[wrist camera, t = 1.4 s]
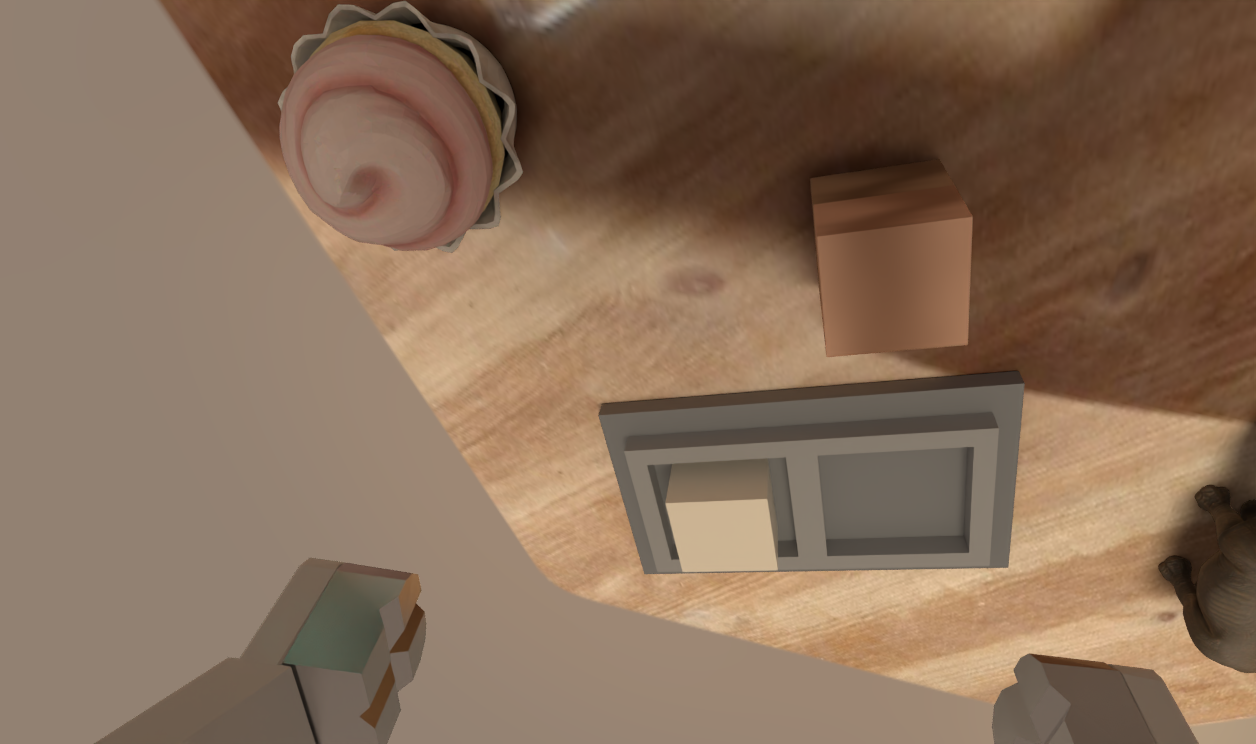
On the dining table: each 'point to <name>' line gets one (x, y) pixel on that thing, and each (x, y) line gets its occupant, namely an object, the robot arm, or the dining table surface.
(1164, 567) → the rhino figurine
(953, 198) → the brown block
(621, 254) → the dining table surface
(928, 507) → the base plate
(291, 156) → the cupcake
